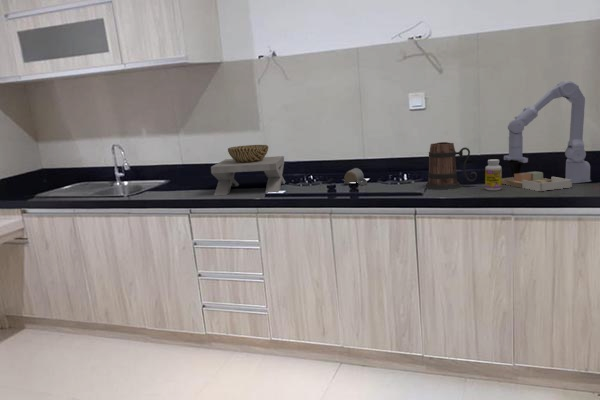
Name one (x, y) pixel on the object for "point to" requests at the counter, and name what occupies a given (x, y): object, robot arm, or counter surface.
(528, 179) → the tile terracotta
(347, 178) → the ceramic mug
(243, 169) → the grey wooden stool
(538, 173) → the tile sage
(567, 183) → the box
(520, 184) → the oak board
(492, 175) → the supplement bottle
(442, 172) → the tankard
